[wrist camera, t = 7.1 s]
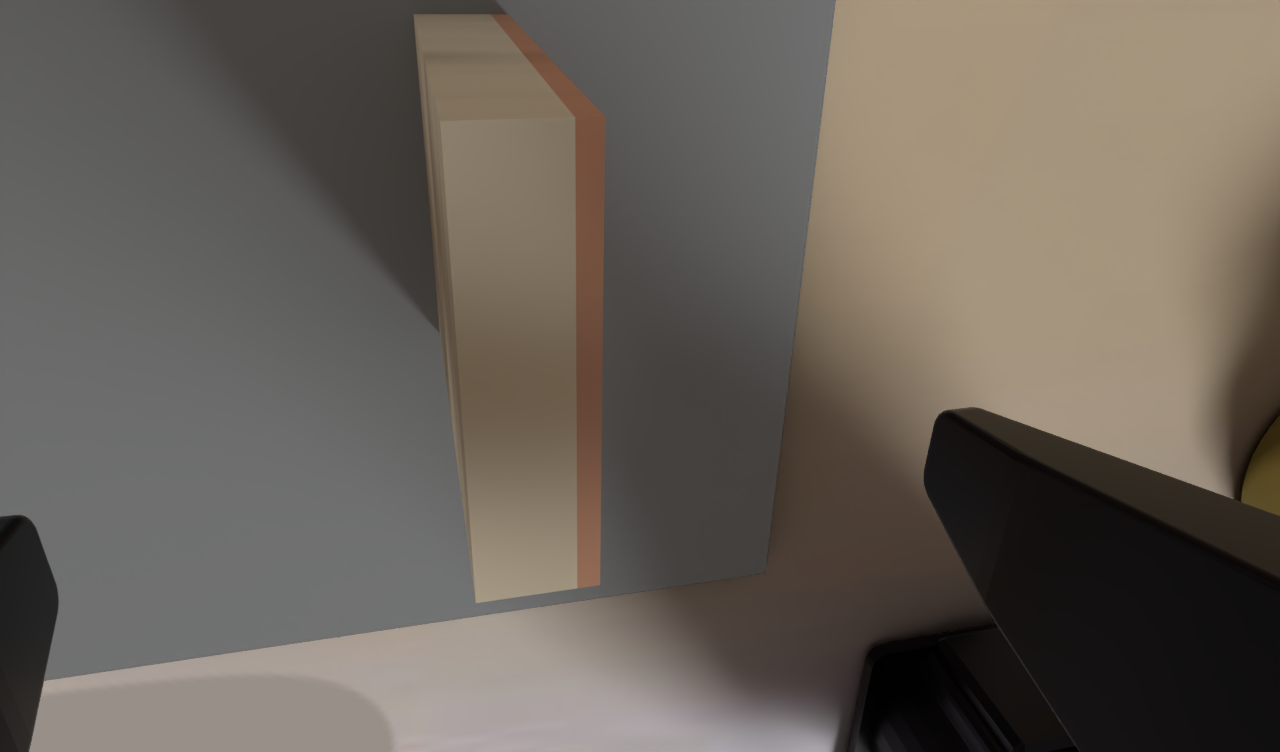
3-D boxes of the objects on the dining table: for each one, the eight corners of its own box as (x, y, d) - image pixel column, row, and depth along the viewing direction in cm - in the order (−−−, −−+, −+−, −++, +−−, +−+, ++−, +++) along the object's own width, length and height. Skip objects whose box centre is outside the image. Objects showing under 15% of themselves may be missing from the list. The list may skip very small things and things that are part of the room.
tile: (519, 327, 19) (600, 585, 12) (440, 333, 18) (475, 602, 11) (507, 14, 16) (604, 117, 9) (413, 13, 15) (439, 120, 9)
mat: (757, 558, 24) (765, 573, 24) (-11, 669, 20) (-21, 690, 20) (889, -586, 14) (909, -603, 13) (-654, -845, 10) (-712, -885, 9)
